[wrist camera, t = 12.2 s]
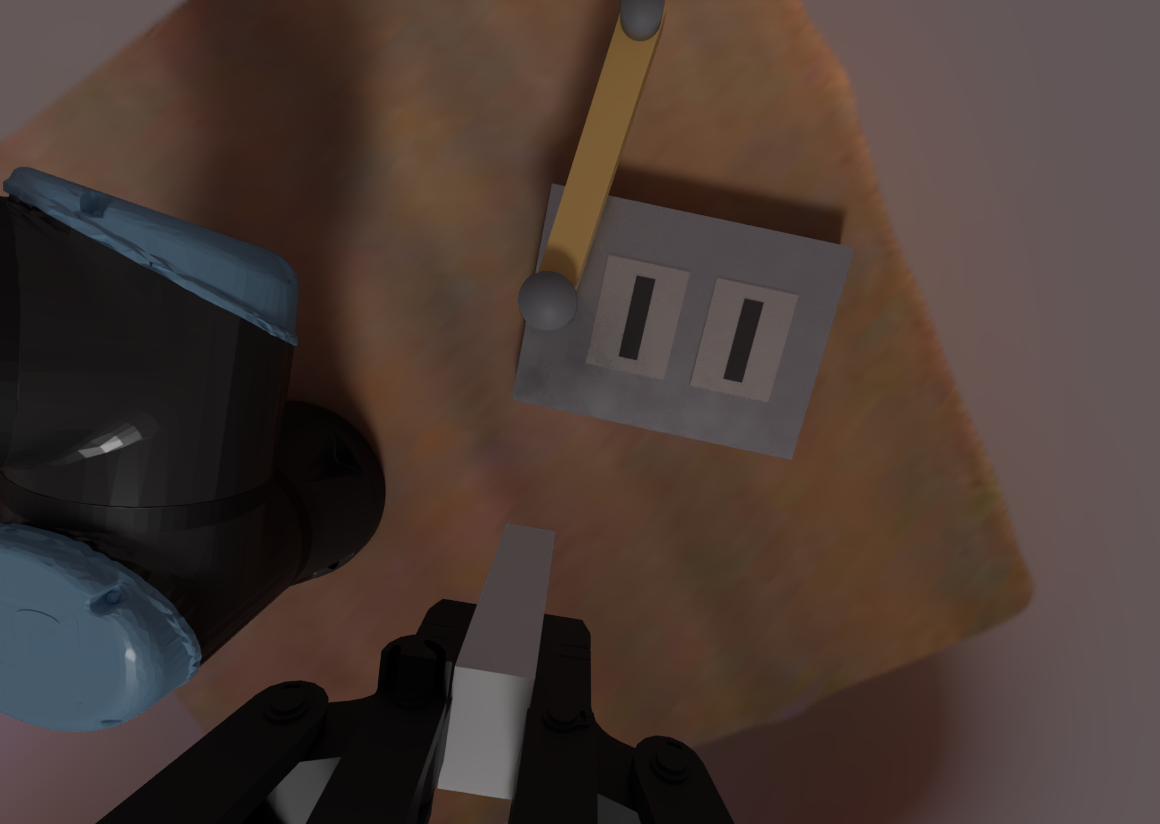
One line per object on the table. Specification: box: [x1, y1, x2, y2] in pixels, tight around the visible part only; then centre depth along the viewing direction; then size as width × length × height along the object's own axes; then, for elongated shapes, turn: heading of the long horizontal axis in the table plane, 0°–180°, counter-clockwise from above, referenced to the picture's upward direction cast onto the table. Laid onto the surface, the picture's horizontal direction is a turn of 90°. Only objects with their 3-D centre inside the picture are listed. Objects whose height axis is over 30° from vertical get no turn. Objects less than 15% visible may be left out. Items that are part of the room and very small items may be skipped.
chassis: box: [512, 183, 855, 460], centre depth 41 cm, size 22×16×5 cm
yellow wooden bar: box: [518, 0, 667, 330], centre depth 34 cm, size 20×4×5 cm, turn 161°
